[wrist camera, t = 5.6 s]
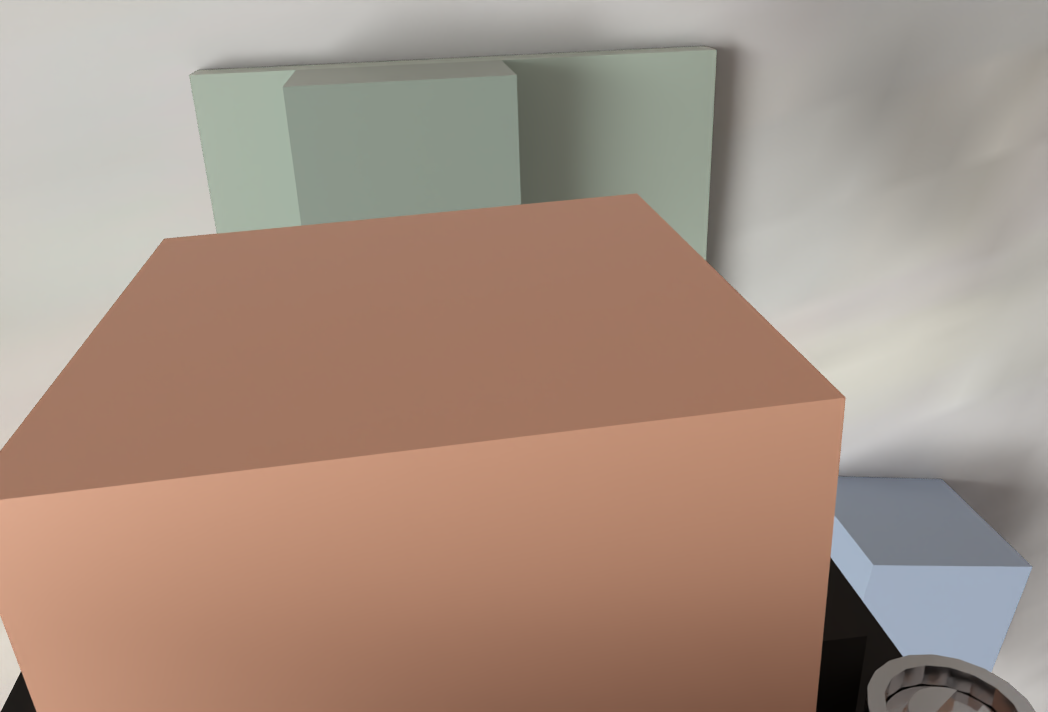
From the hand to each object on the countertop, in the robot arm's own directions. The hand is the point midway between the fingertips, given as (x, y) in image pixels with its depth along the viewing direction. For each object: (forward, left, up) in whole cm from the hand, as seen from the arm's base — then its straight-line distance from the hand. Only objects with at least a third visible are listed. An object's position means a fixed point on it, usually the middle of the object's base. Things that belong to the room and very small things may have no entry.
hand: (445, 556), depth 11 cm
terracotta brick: (0, 0, -1) cm, 1 cm away
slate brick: (-14, +14, -16) cm, 25 cm away
